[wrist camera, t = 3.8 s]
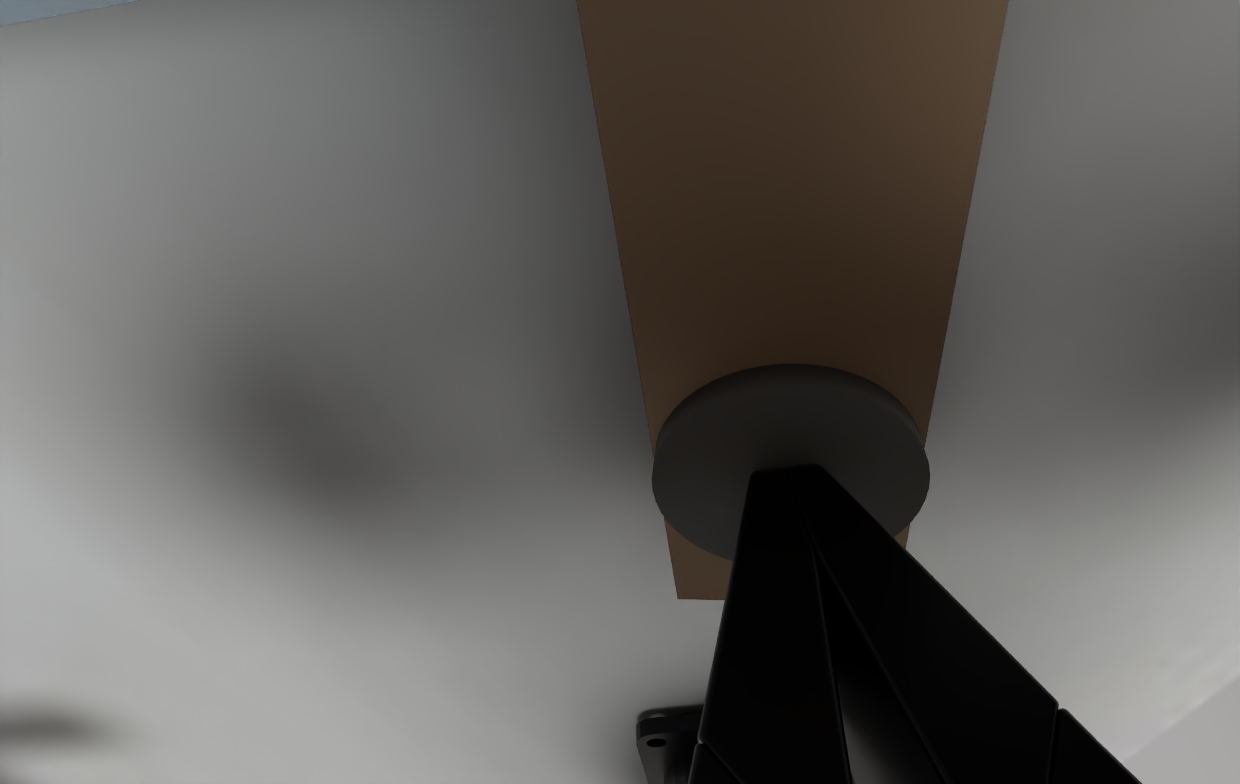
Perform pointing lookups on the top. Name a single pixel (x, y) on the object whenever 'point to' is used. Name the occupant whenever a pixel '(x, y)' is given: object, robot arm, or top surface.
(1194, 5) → the top surface
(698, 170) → the lever
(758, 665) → the robot arm
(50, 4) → the open container
